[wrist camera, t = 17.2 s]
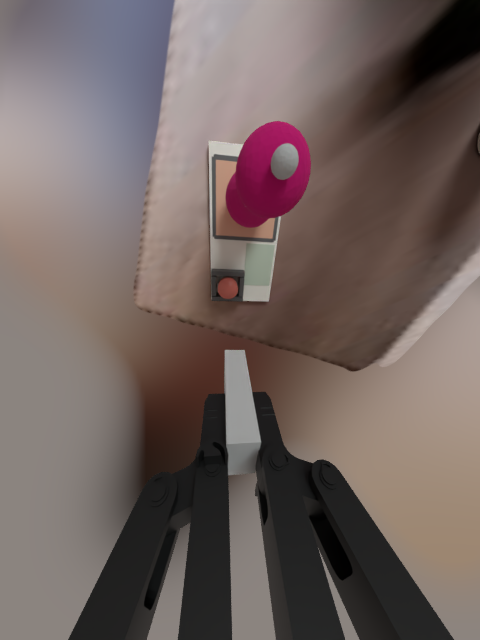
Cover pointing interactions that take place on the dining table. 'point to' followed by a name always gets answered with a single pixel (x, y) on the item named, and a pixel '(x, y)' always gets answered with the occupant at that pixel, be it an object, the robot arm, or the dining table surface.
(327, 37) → the dining table surface
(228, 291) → the button
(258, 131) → the pepper mill
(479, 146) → the travel mug
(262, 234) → the picture board
